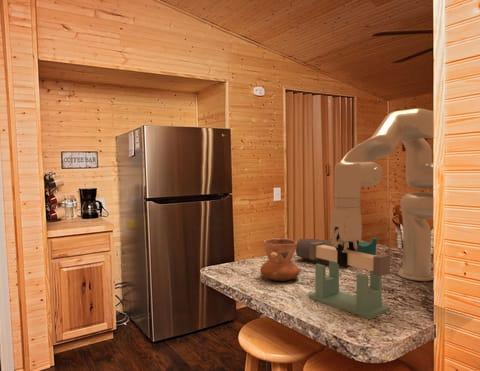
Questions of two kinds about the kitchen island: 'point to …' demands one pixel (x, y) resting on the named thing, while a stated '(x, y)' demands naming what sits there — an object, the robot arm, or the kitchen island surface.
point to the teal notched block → (367, 247)
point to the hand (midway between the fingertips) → (346, 263)
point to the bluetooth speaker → (304, 249)
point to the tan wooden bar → (352, 258)
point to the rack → (361, 304)
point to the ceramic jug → (279, 260)
